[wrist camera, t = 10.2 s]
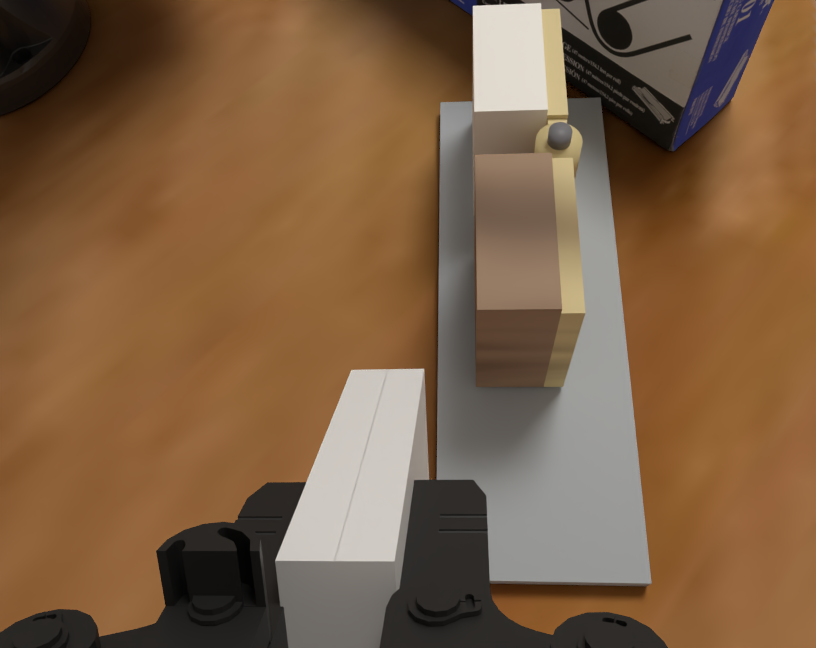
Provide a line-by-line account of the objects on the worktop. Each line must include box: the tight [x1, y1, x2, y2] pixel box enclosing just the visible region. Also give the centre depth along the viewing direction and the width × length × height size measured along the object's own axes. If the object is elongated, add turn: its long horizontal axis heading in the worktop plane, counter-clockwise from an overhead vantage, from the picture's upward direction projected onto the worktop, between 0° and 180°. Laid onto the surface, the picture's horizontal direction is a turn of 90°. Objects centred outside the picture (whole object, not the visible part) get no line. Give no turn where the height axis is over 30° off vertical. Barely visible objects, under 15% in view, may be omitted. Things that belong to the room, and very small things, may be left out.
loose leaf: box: [474, 153, 585, 387], centre depth 38 cm, size 10×5×9 cm, turn 179°
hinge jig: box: [437, 3, 651, 586], centre depth 39 cm, size 29×10×10 cm, turn 179°
